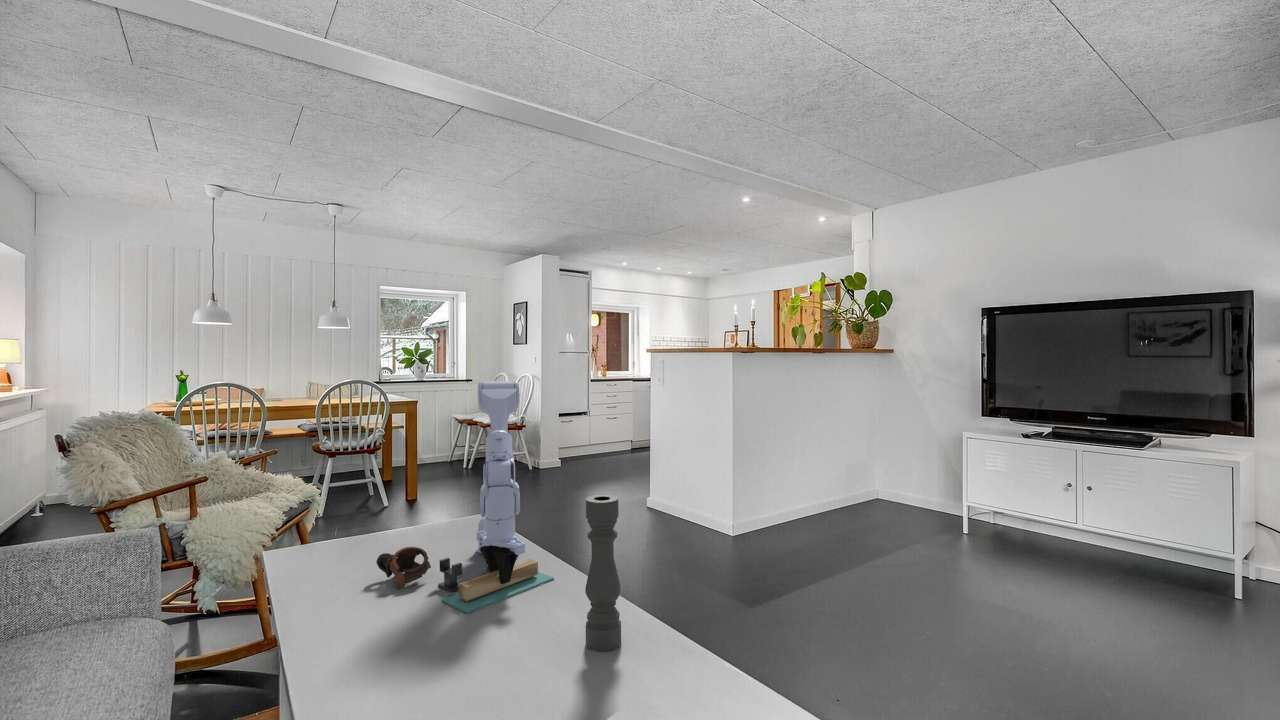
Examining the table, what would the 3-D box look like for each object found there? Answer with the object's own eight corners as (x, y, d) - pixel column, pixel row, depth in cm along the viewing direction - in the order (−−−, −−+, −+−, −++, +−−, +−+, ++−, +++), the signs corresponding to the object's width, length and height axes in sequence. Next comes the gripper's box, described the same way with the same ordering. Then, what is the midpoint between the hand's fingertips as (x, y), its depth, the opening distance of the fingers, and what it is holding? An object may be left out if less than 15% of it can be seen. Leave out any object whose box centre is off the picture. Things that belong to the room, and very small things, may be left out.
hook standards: (437, 586, 124) (437, 560, 124) (495, 566, 135) (495, 543, 135) (451, 592, 120) (451, 566, 120) (510, 571, 132) (510, 548, 132)
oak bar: (459, 597, 116) (458, 583, 116) (529, 571, 129) (529, 558, 129) (466, 601, 114) (466, 587, 114) (537, 574, 128) (537, 561, 128)
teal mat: (442, 601, 116) (442, 599, 116) (528, 569, 133) (528, 568, 133) (467, 613, 110) (467, 611, 110) (554, 579, 127) (554, 577, 127)
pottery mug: (434, 572, 134) (437, 546, 130) (418, 605, 125) (421, 579, 122) (383, 560, 133) (385, 535, 129) (363, 593, 124) (365, 567, 121)
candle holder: (616, 653, 95) (615, 503, 95) (581, 649, 97) (579, 502, 96) (625, 635, 101) (623, 494, 101) (591, 632, 103) (590, 493, 103)
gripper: (464, 514, 123) (464, 577, 123) (504, 527, 114) (505, 595, 114) (491, 508, 129) (492, 568, 129) (532, 519, 119) (533, 584, 119)
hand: (500, 580), depth 122 cm, fingers closed on oak bar, 3 cm apart
